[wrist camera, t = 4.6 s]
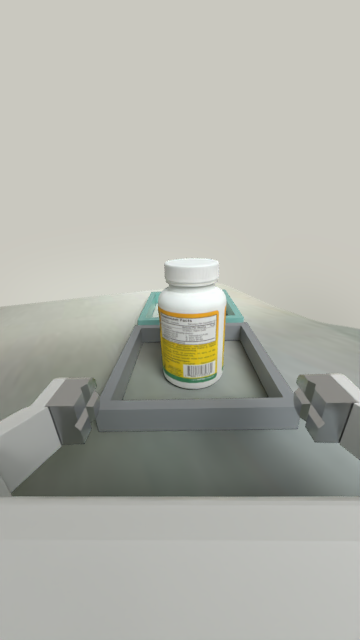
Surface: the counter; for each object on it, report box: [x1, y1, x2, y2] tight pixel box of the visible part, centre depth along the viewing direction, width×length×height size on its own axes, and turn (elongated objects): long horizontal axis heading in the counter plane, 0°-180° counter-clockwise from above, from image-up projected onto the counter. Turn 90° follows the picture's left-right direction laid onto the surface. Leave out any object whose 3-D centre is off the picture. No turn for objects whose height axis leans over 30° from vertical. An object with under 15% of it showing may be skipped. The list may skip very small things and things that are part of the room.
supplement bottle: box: [158, 258, 227, 389], centre depth 18 cm, size 5×5×10 cm
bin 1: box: [138, 290, 244, 325], centre depth 32 cm, size 13×13×2 cm
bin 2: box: [96, 322, 300, 432], centre depth 19 cm, size 13×13×2 cm
